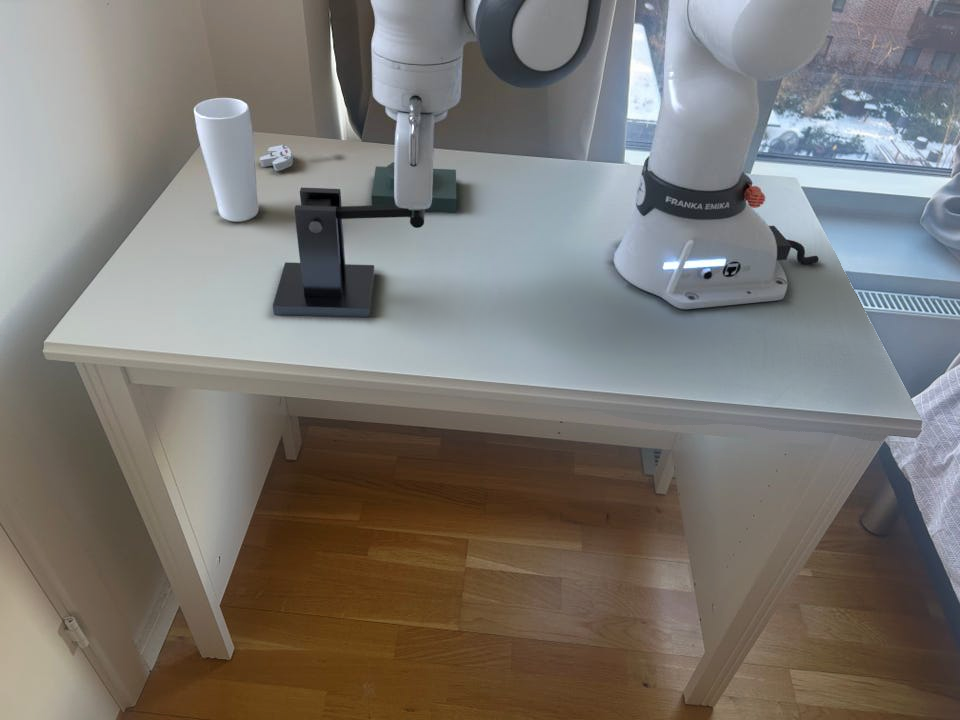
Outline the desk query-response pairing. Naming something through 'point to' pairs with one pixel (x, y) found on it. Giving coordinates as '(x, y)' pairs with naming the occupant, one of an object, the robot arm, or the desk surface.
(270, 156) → the game controller
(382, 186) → the power block
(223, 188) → the drinking glass
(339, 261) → the lever base
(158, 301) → the desk surface
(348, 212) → the black lever handle
